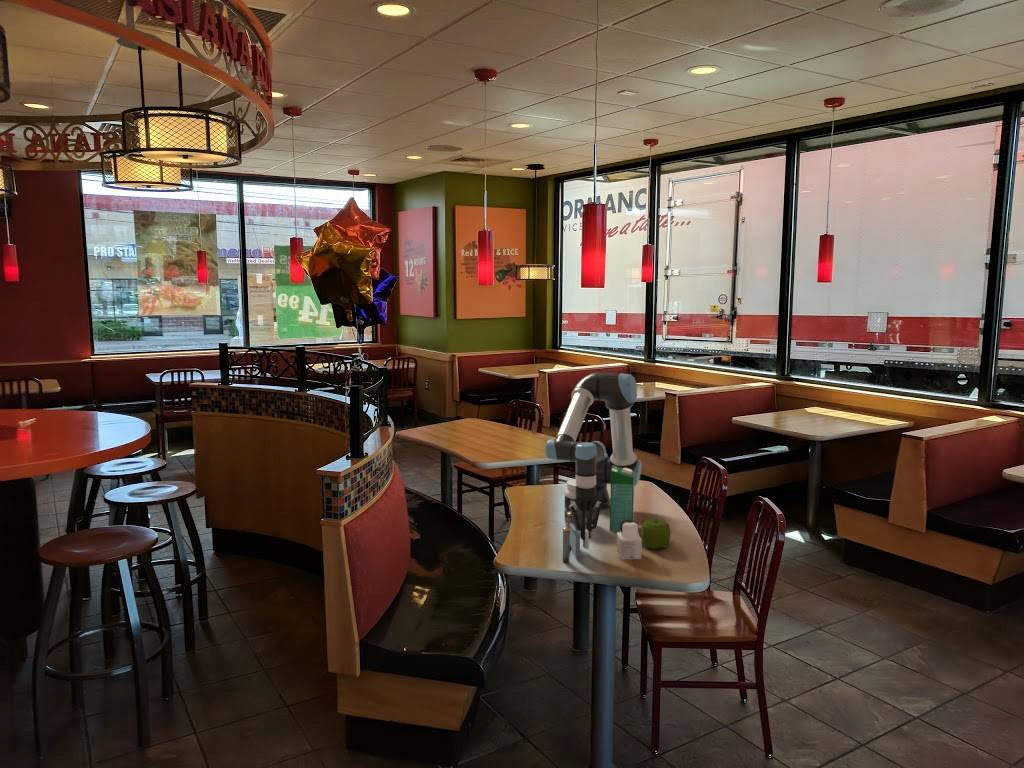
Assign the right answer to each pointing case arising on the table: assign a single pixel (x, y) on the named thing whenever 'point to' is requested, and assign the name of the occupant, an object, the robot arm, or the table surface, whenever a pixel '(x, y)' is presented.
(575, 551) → the gate
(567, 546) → the gate posts
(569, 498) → the supplement tub
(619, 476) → the milk carton
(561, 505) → the table surface
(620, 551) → the container
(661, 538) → the apple
